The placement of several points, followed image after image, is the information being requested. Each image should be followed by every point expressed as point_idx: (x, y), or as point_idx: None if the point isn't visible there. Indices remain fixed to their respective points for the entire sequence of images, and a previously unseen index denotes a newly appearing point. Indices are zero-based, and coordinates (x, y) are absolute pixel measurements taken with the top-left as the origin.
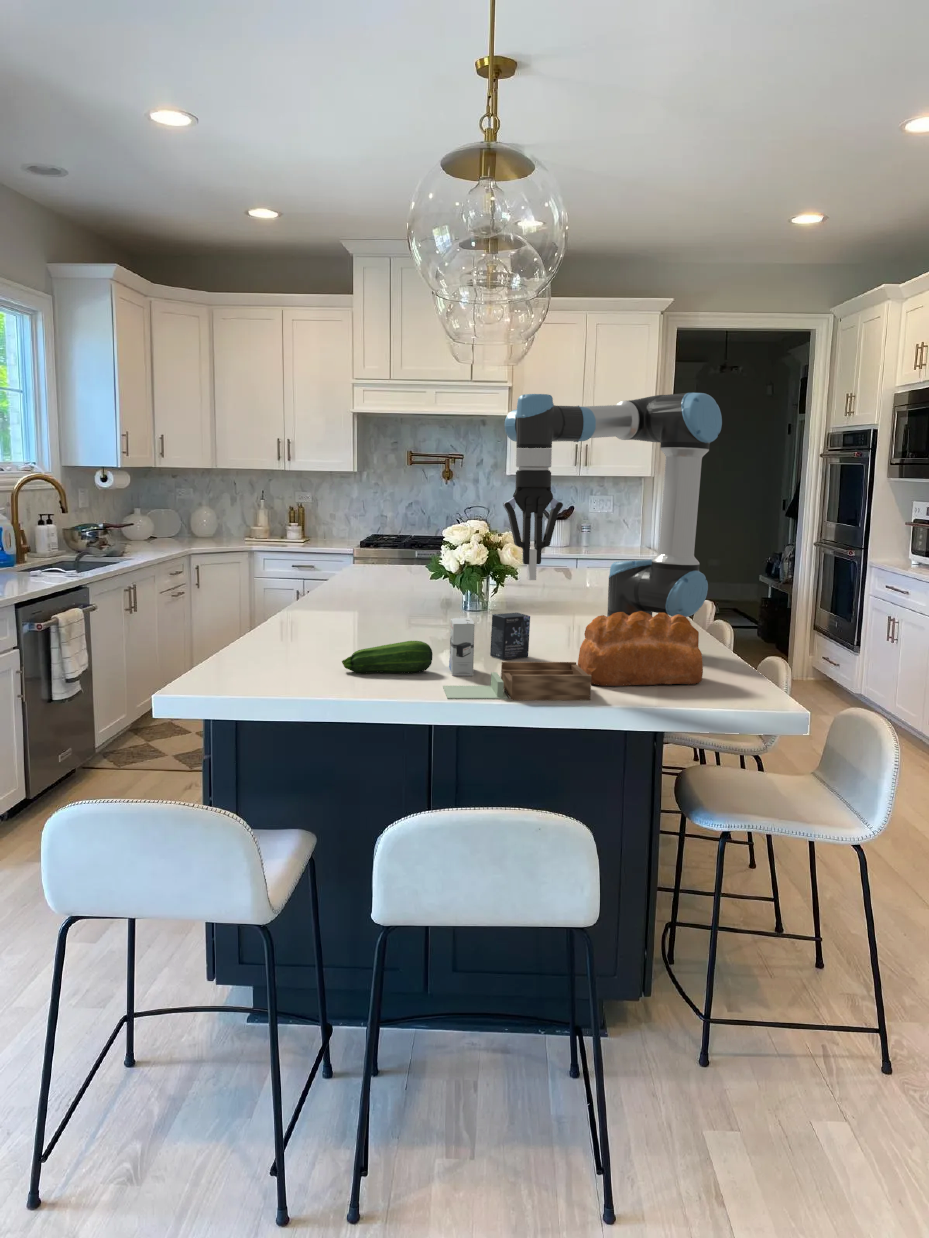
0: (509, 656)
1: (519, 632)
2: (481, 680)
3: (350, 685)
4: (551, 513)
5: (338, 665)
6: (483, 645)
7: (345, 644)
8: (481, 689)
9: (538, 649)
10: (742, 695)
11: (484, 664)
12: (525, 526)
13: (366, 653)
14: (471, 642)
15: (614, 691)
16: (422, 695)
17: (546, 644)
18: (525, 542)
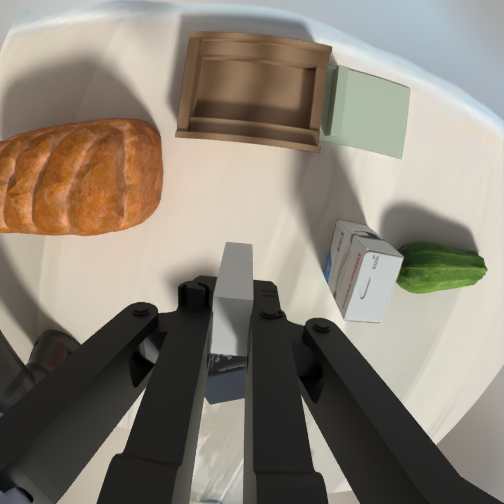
0: None
1: (218, 355)
2: (333, 188)
3: (489, 195)
4: (37, 470)
5: (467, 302)
6: None
7: (412, 402)
8: (354, 120)
9: None
10: (11, 92)
11: (290, 298)
12: (298, 410)
13: (478, 263)
14: (358, 237)
15: (139, 94)
16: (434, 118)
17: None
18: (283, 330)
